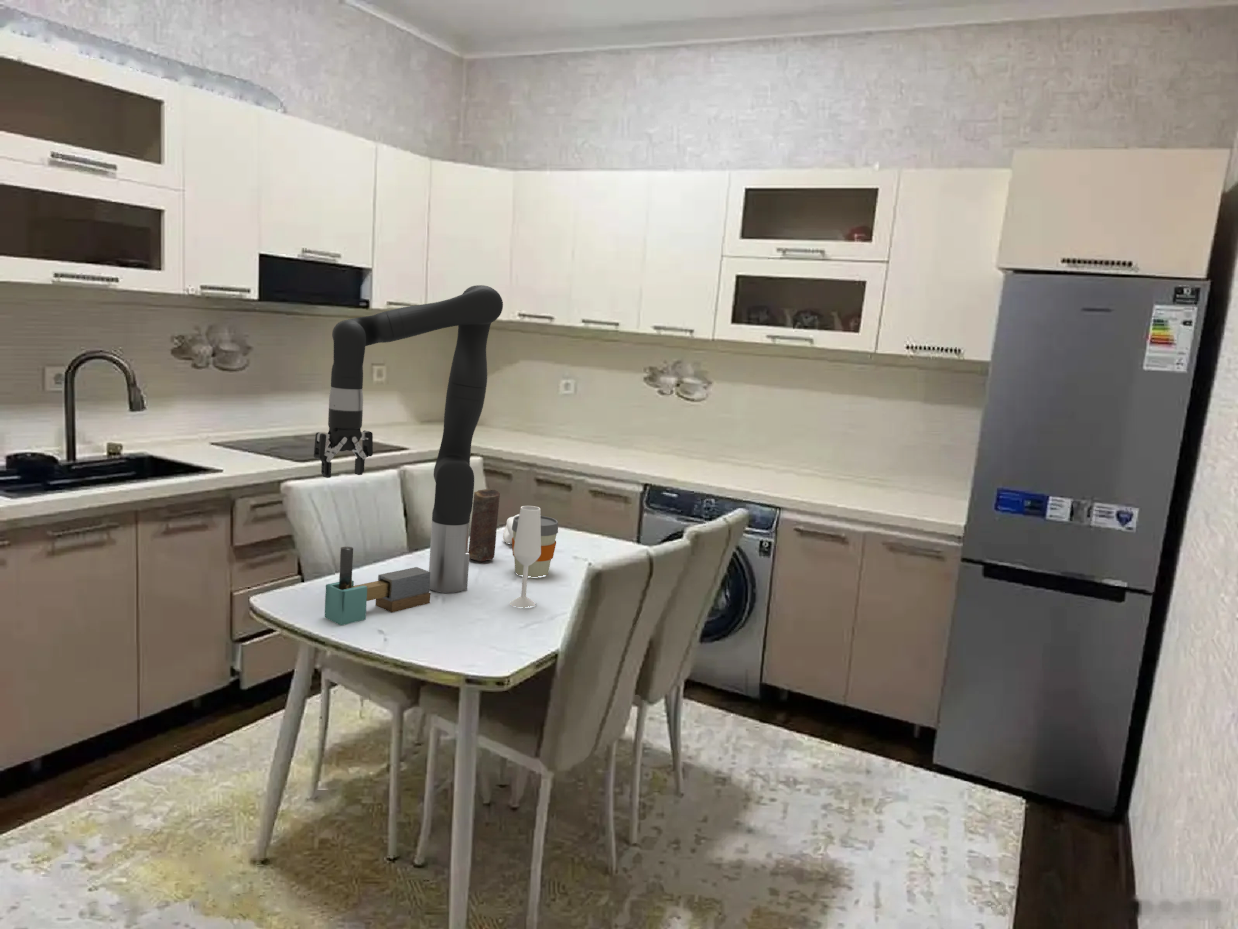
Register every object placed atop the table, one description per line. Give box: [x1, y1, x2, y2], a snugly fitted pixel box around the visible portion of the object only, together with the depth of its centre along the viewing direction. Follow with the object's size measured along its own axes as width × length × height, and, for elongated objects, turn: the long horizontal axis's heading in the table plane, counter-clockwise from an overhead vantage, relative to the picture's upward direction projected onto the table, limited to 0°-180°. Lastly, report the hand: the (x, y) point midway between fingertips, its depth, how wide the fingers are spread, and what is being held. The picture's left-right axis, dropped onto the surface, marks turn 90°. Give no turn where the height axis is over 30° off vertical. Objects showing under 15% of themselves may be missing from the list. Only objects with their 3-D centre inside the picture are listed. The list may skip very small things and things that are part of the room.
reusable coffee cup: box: [511, 515, 559, 577], centre depth 232 cm, size 13×13×15 cm
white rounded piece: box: [502, 513, 520, 545], centre depth 260 cm, size 11×12×9 cm
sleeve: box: [375, 566, 432, 614], centre depth 199 cm, size 11×6×8 cm, turn 142°
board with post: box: [338, 546, 390, 602], centre depth 190 cm, size 14×3×12 cm, turn 142°
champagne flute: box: [509, 505, 542, 608], centre depth 206 cm, size 7×7×24 cm
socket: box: [324, 579, 368, 626], centre depth 187 cm, size 6×6×8 cm
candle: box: [468, 488, 501, 563], centre depth 239 cm, size 8×7×20 cm
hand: (343, 475), depth 200 cm, fingers open, 8 cm apart
